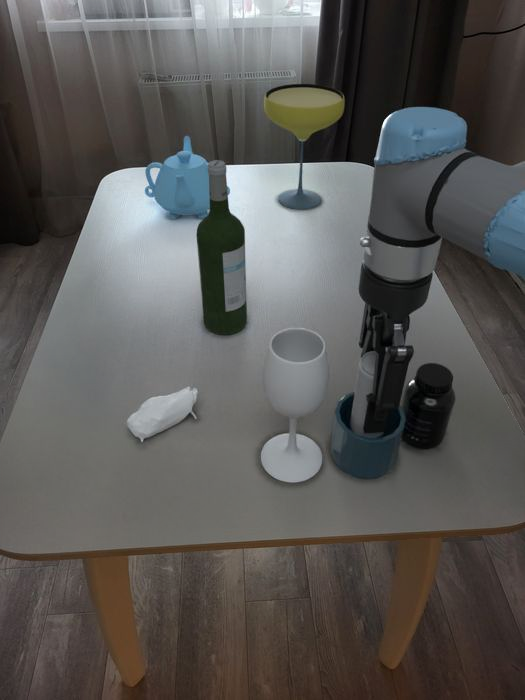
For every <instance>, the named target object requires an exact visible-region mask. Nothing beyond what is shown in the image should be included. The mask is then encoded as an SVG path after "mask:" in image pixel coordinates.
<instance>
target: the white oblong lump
mask: <svg viewBox="0 0 525 700" xmlns="http://www.w3.org/2000/svg"><path fill="white" fill-rule="evenodd" d="M198 393H199V391H198V390H197V387H196V388H195V387H193V389H191V387H190V386H187V387H185V388H183V389H181V390H179V391H176V392H173V393H171V394H168V395H158V396H153V397H150V398H148V399H147V400H145V401H144V402H142V403H141V405H140V406H139V408H138V410H137V411H135V412H134V413H132V414H130V416H129V417H128V419H127V421H126V427H127V428H128V429H129V430H130V432H131V433H132V434H133V436H134V437H137V438H138V439H139V440H140V442H141V443H144V439H149V438H151V437H153V436H155V435H157V434H158V433H161V432H164V431H165V430H168V429H169V428H171V427H173V426H176V425H177V424H179V423H181V422H182V421H183V420H184V419H185V418H186V417H187V416H188V415H189V414H191V415H192V417H193V418H194V419H195V420H197V419H198V417H197V416H196V414H195V413H194V411H193V407H194V405H195V404H196V401H197V399H198Z"/></svg>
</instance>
